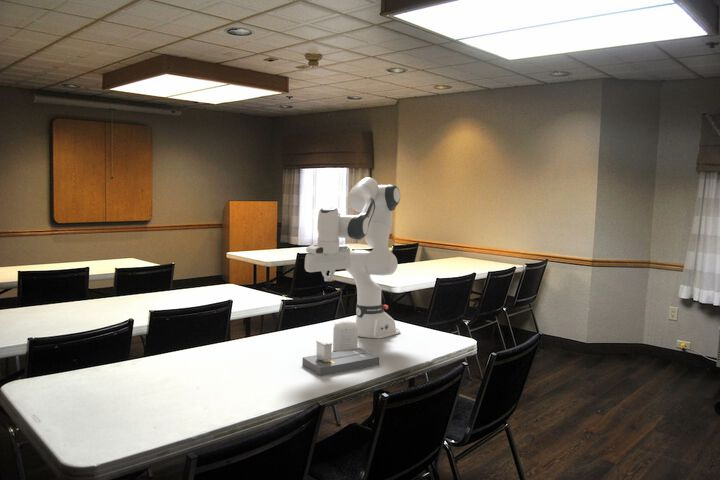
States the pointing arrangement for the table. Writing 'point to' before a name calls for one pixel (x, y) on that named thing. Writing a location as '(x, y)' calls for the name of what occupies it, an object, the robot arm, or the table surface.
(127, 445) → the table surface
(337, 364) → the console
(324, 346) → the fader
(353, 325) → the photo printer
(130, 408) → the table surface
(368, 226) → the robot arm
